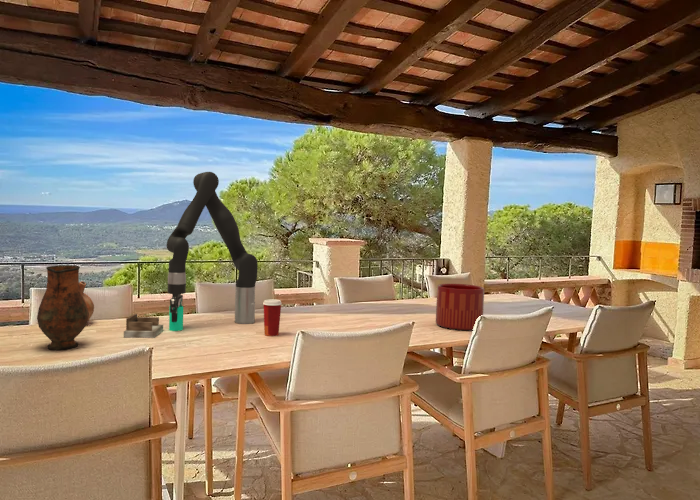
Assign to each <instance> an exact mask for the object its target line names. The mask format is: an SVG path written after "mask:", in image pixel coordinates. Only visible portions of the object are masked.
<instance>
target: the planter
mask: <svg viewBox="0 0 700 500" xmlns="http://www.w3.org/2000/svg"><path fill="white" fill-rule="evenodd" d="M484 300H485V287H482V286H480V285H473V284H467V283H466V284H465V283H439V284H438V285H437V289H436V304H435V305H436V307H435V324H436V325H437V326H439V327H440V326H441V327H440V328H443V327H444V328H443V329H446V328H449V329H448V330H451V329H457V330H456V331H460V330H472V329H473V326H474V324H475V321H476V319H477V318H478V317H479V316H481V315H483V316H484V306H485V305H484V304H485V301H484ZM472 331H473V330H472Z"/></svg>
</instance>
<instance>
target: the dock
mask: <svg viewBox="0 0 700 500" xmlns="http://www.w3.org/2000/svg"><path fill="white" fill-rule="evenodd" d="M125 322H126V323H125V325H126V326H125V329H124V331H123V338H125V339H127V338H130V339H131V338H132V339H134V338H137V339H138V338H140V339H141V338H143V339H144V338H145V339H155V338H156V337H157V336H158V335H159V334H161V333H162V332H163V331H164V324H160V318H159V316H157V317H156V316H152V317H151V316H150V317H149V316H138V313H134V314H132V315H130V316H128V317H127V318H126V319H125Z"/></svg>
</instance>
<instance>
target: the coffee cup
mask: <svg viewBox="0 0 700 500" xmlns="http://www.w3.org/2000/svg"><path fill="white" fill-rule="evenodd" d="M282 304H283V303H282V301H281V300H280V299H275V298H274V299H273V298H271V299H270V298H269V299H264V300H263V303H262V305H263V325H264V327H263V328H264V336H266V337H278V335H279V333H280V323H281V312H282V311H281V310H282Z"/></svg>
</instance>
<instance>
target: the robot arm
mask: <svg viewBox="0 0 700 500" xmlns="http://www.w3.org/2000/svg"><path fill="white" fill-rule="evenodd" d="M219 180H220V179H219V177H218V175H217V174H216V173H214V172H213V171H205V172H200V173H198V174H195V176H194V178H193V181H192V183H193V187H194V189H195V190H196V193H195V194H194V196H193V199H192V200H191V202H190V203H189V204H188V205H187V207H186V208H185V209H184V212H183V213H182V215H181V217H180V219H179V221H178V223H177V226H176V227H175V228H174V229H173V231H172V232H171V234H170V235H169V237H168V238H167V241H166V249H167V250H168V252H169V253H173V254H172V258H171V259H169V262H168V273H167V294H169V295H172V296H171V297H170V299H169V306H170V313H172V322H177V313H178V308H179V306H183V301H184V299H183V298H184V296H183V295H184V294H186V291H187V290H186V289H187V275H186V271H187V270H186V262H187V260H188V255H189V252H190V251H189V250H190V245H189V242H188V240H187V239H186V238H187V237H188V236H191V235H192V234H193V232H194V230H195V227H196V226H197V224H198V221H199V219H200V216H201V215H202V213H203V211H204V209H205V207H206V210H207V212H208V213H209V216H210V217H211V218H212V219H211V220H212V222H213V224H214V225H215V228H216V229H217V231H218V233H219V235H220V237H221V239H222V241H223V243H224V245H225V246H226V248H227V250H228V252H229V254H230V257H231V260H232V263H233V265H234V267H235V269H236V270H237V271H238V277H237V279H236V280H235V290H234V292H235V295H234V296H235V297H234V301H235V303H234V304H235V305H234V323H236V324H243V325H244V324H255V318H256V317H255V316H256V301H255V300H256V282H257V280H258V269H259V268H258V265H259V264H258V260H257V259H258V258H257V257H256V256H255V255H254V254H251V253H248V252H247V249H246V248H245V247H244V245H243V242H242V240H241V235H240V229H239V226H238V223H237V222H236V219H235V218H234V217H235V216H234V215H233V213H232V212H231V211H230V209H228V207H227V206H226V205H225V204H224V203H223V202H222V201H221V200H220V198H219V196H218V194H217V192H216V190H217V189H218V187H219V182H220V181H219ZM173 308H175V310H173Z"/></svg>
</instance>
